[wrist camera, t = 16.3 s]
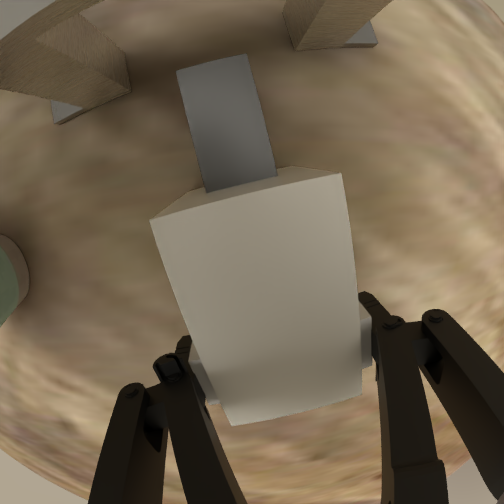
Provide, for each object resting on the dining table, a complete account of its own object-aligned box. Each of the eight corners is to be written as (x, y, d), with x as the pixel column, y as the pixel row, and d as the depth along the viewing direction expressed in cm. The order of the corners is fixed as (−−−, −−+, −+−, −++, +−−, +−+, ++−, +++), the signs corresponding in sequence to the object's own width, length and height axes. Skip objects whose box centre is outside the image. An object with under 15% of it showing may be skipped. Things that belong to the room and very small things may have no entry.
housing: (54, 86, 14) (-69, 56, 3) (359, 10, 13) (451, -74, 3) (60, 124, 15) (-74, 118, 4) (372, 47, 14) (486, -22, 4)
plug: (165, 100, 14) (110, 58, 7) (269, 74, 14) (297, 12, 7) (233, 339, 19) (235, 432, 12) (320, 317, 19) (361, 401, 12)
